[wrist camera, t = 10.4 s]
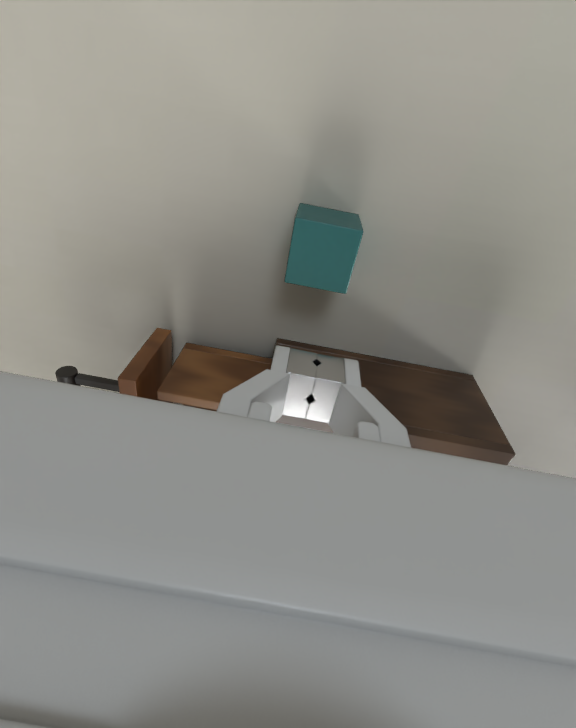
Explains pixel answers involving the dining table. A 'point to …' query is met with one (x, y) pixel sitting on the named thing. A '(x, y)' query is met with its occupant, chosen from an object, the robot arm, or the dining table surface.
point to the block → (323, 248)
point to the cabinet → (424, 406)
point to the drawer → (176, 373)
